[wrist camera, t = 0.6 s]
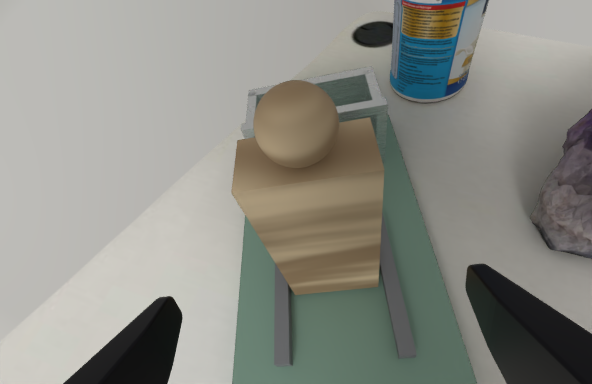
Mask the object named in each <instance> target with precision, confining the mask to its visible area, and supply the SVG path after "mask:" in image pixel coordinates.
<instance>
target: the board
mask: <svg viewBox="0 0 592 384" xmlns="http://www.w3.org/2000/svg"><path fill="white" fill-rule="evenodd" d="M383 166H384V188H383V207H382V225H381V244H380V263H379V282H378V287H373V288H362V289H352V290H342V291H332V292H322V293H312V294H302V295H295V294H294V292H293V291H292V289H291V287H290V286H289V284H288V283H287V281H286V279H285V278H284V276H283V275H282V273H281V271H280V270H279V268H278V267H277V265H276V263H275V262H274V260H273V259H272V257H271V255H270V254H269V252H268V251H267V249H266V247H265V246H264V244H263V243H262V241H261V239H260V238H259V236H258V234H257V233H256V231H255V230H254V228H253V226H252V225H251V223H250V222H249V220H248V218H247V217H246V215H245V225H244V238H243V251H242V264H241V277H240V290H239V303H238V316H237V329H236V342H235V355H234V368H233V381H232V384H476V383H477V382H476V379H475V376H474V372H473V369H472V366H471V363H470V360H469V357H468V354H467V351H466V348H465V345H464V342H463V339H462V336H461V333H460V330H459V327H458V324H457V321H456V318H455V315H454V312H453V309H452V306H451V303H450V300H449V297H448V294H447V291H446V288H445V285H444V282H443V279H442V276H441V272H440V269H439V266H438V263H437V260H436V257H435V254H434V251H433V248H432V245H431V242H430V239H429V236H428V233H427V230H426V227H425V224H424V221H423V218H422V215H421V212H420V209H419V206H418V203H417V200H416V197H415V194H414V191H413V188H412V185H411V182H410V179H409V176H408V172H407V169H406V166H405V163H404V160H403V157H402V154H401V151H400V148H399V145H398V142H397V139H396V136H395V133H394V130H393V127H392V124H391V121H390V118H389V115H387V130H386V148H385V163H383Z"/></svg>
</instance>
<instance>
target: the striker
mask: <svg viewBox="0 0 592 384" xmlns="http://www.w3.org/2000/svg"><path fill="white" fill-rule="evenodd" d="M253 128H254V134H255V137H254V138H248V139H242V140H238V141H237V149H236V158H235V167H234V175H233V184H232V194H233V196H234V198H235V199H236V201H237V202H238V204H239V206H240V207H241V209H242V210H243V212H244V214H245V215H246V217H247V218H248V220H249V222H250V223H251V225H252V226H253V228H254V230H255V231H256V233H257V234H258V236H259V238H260V239H261V241H262V243H263V244H264V246H265V247H266V249H267V251H268V252H269V254H270V255H271V257H272V259H273V260H274V262H275V263H276V265H277V267H278V268H279V270H280V271H281V273H282V275H283V276H284V278H285V279H286V281H287V283H288V284H289V286H290V287H291V289H292V291H293V292H294V294H295V295H302V294H312V293H322V292H332V291H342V290H352V289H362V288H373V287H378V282H379V263H380V244H381V225H382V207H383V188H384V166H383V163H382V159H381V155H380V152H379V148H378V144H377V141H376V137H375V133H374V130H373V126H372V122H371V119H370V117H369V118H363V119H357V120H351V121H346V122H340V123H339V117H338V112H337V109H336V106H335V104H334V102H333V101H332V99H331V98H330V96H329V95H328V94H327V93H326V92H325V91H324V90H323V89H321V88H320V87H318V86H317V85H315V84H312V83H310V82H306V81H301V80H292V81H286V82H283V83H280V84H278V85H276V86H274V87H273V88H271V89H270V90H269V91H268V92H267V93H266V94H265V95H264V96H263V97H262V98H261V100H260V101H259V103H258V105H257V108H256V110H255V114H254V120H253Z"/></svg>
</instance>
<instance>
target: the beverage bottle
mask: <svg viewBox="0 0 592 384" xmlns="http://www.w3.org/2000/svg"><path fill="white" fill-rule="evenodd" d="M488 2H489V0H395V2H394V3H395V4H394V22H393V43H392V61H391V71H390V84H391V86H392V88H393V90H394V91H395V92H396V93H397V94H398V95H400V96H401V97H403V98H405V99H408V100H411V101H415V102H437V101H441V100H445V99H448V98H450V97H452V96H454V95H455V94H457V93H458V92H459V91H460V90H461V89H462V88H463V87H464V85H465V83H466V81H467V77H468V73H469V67H470V64H471V61H472V57H473V54H474V50H475V47H476V43H477V40H478V36H479V33H480V30H481V26H482V23H483V19H484V16H485V12H486V9H487V6H488Z"/></svg>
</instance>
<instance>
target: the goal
mask: <svg viewBox="0 0 592 384" xmlns="http://www.w3.org/2000/svg"><path fill="white" fill-rule="evenodd" d="M301 81H306V82H310V83H312V84H315V85H317V86H318V87H320V88H321V89H323V90H324V91H325V92H326V93H327V94H328V95H329V96H330V98H331V99H332V101H333V102H334V104H335V106H336V109H337V112H338V117H339V123H340V122H346V121H351V120H357V119H363V118H369V117H370V119H371V122H372V126H373V130H374V133H375V137H376V141H377V144H378V148H379V152H380V155H381V159H382V163H385V148H386V130H387V111H388V103H387V100H386V98H382V95H381V92H380V89H379V85H378V82H377V79H376V76H375V73H374V70H373V67H372V66H370V67H365V68H360V69H354V70H349V71H344V72H339V73H334V74H329V75H324V76H319V77H314V78H309V79H304V80H301ZM274 86H276V85H273V86H268V87H263V88H258V89H253V90H249V94H248V104H247V114H246V123H243V124H242V125H241V132H242V134H243V136H244V138H245V139H248V138H254V137H255V134H254V128H253V120H254V114H255V110H256V108H257V105H258V103H259V101H260V100H261V98H262V97H263V96H264V95H265V94H266V93H267V92H268V91H269V90H270V89H271V88H273V87H274Z"/></svg>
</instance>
